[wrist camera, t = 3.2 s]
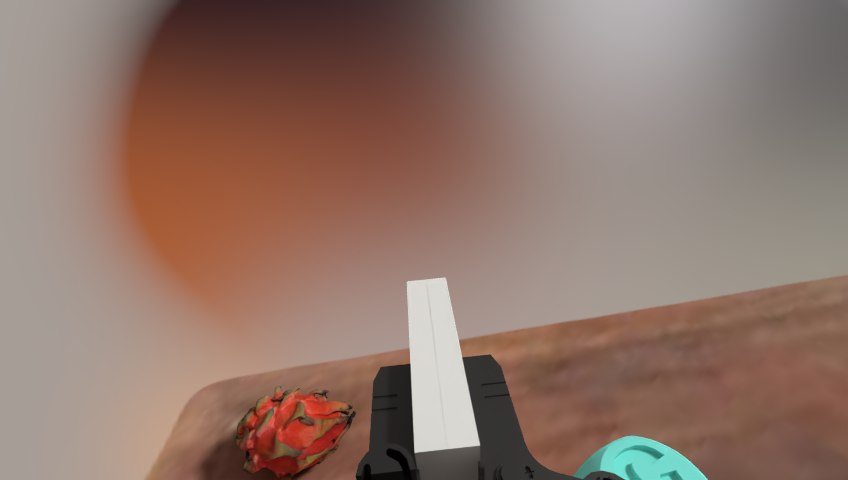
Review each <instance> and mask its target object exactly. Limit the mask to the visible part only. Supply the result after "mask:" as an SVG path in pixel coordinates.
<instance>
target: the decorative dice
mask: <svg viewBox="0 0 848 480" xmlns="http://www.w3.org/2000/svg"><path fill="white" fill-rule="evenodd" d="M595 471H607V472H611V473H615V474H616V475H618V476H620V477H621V478H623V479H625V480H707V478H706V477H705V476H704V475H703V474H702V473H701V472H700V471H699V470H698V469H697V468H696V467H695V466H694V465H693V464H692V463H691V462H690V461H689V460H688V459H686V458H685V457H684V456H682V455H681V454H680V453H678V452H677V451H675V450H673V449H671V448H670V447H668V446H666V445H664V444H661V443H659V442H657V441H654V440H651V439H647V438H643V437H638V436H626V437H623V438H620V439H617V440H615V441H613V442H611V443H609V444H607V445H606V446H604V447H602V448H601V449H600V450H598V451H597V452H595V453H594V454H593V455H592V456H591V457H589V458H588V459H587V460H586V461H585V462H584V463H583V464H582V466H581V467H580V468H579V469H578V470H577V472H576V473H575V475H574V476H573V477H577V478H581V479H583V478H584V477H586V476H587V475H588V474H590V473H591V472H595Z"/></svg>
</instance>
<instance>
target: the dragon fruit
mask: <svg viewBox="0 0 848 480" xmlns="http://www.w3.org/2000/svg"><path fill="white" fill-rule="evenodd" d="M280 388H281V386H277V387H276V388H275V396H274V398H273V399H272V398H271V397H270V396H264V397H262V398H260V399H259V400H258V401H257V402H256V406H255V407H253V408H251V409H250V410H249V412H248V413H247V414H246V415H245V416H244V418H243V419H242V420H241V421H239V422H238V426H237V431H238V433H239V434H240V435H244V437H242V438H241V439H238V437H236V442H237V445H238V446H239V447H240V450H247V452H246V459H248V460H247V461H246V463H245V464H244V467H243V470H244V471H247V472H248V473H250V474H253V473H255V472H256V471H259V470H260V469H262V468H265V467H267V468H268V469H270V470H271V471H273V472H274V473H275V474H276V475H277V477H278V478H280V479H282V480H291V479H292V478H293V475H294V474H295V473H298V472H300V471H301V470H303V469H305V468H308V467H311V466H314V465H315V464H316V463H318V462H322V461H324V460H325V458H327V457H328V456H329V455H330V454H331V453H332V452H334V451H335V450H337V447H338V445H337V444H338V443H339V441H340V439H341V438H342V436H343V435H344V434H345V433H346V432H347V431H348V429H349V427H350V425H351V423H352V418H353V417H354V416H355V414H356V412H354V411H353V413H352V414H351V416H350V417H349V416H344V415H343V414H346V415H349V409H352V407H351V406H350V405H348V404H346V403H345V402H342V401H327V396H326V393H327V392H329V391H328V390H321V389H316V390H314V391H312V392H310V393H309V394H306V395H302V390H301V389H300V388H298V389H297V391H296V392H295V393H293V391H292V390H288V391H285V392H284V393H282V391H281V389H280ZM315 394H319V395H322V397H318V398H315ZM352 406H353V405H352ZM340 412H341V413H343V414H340ZM347 420H348V421H347ZM346 421H347V422H346ZM336 445H337V446H336Z"/></svg>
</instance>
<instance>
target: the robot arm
mask: <svg viewBox="0 0 848 480" xmlns="http://www.w3.org/2000/svg"><path fill="white" fill-rule="evenodd" d="M407 294H408V295H407V296H408V318H409V340H410V363H411V364H405V365H396V366H386V367H381V368H380V370H379V372H378V374H377V376H376V377H375V379H374V382H373V400H372V413H371V429H370V445H369V452H367V453H366V454H365V456H364V457H363V459H362V460H361V462H360V463H359V465H358V469H357V473H356V479H357V480H625V479H623V478H621V477H620V476H618V475H616V474H615V473H611V472H607V471H595V472H591V473H590V474H588V475H587V476H586V477H584V478H583V479H581V478H577V477H573V476H568V475H564V474H560V473H557V472H554V471H551V470H549V469H547V468H546V467H544V466H542V465H541V464H540V463H539V462H538V461H536V460H535V459H534V458H533V456H532V455H531V454H530V452H529V451H528V449H527V446H526V444H525V441H524V438H523V435H522V432H521V429H520V426H519V422H518V419H517V416H516V413H515V410H514V407H513V403H512V400H511V397H510V395H509V391H508V388H507V385H506V381H505V378H504V375H503V372H502V369H501V366H500V365H499V364H498V363H497V362H496V360H495V359H494V358H493V357H492V356H491V355H481V356H472V357H462V355H461V350H460V345H459V340H458V335H457V331H456V326H455V321H454V316H453V311H452V306H451V302H450V297H449V292H448V287H447V282H446V278H437V279H428V280H417V281H407Z"/></svg>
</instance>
